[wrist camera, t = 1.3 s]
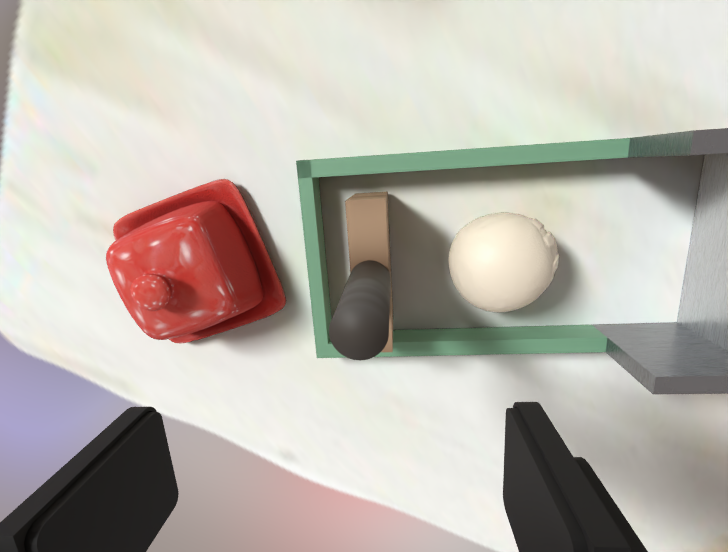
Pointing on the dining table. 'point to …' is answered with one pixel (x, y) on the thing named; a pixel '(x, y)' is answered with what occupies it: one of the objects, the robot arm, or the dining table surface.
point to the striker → (366, 282)
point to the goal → (687, 285)
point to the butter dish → (194, 265)
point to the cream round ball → (503, 261)
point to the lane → (452, 338)
